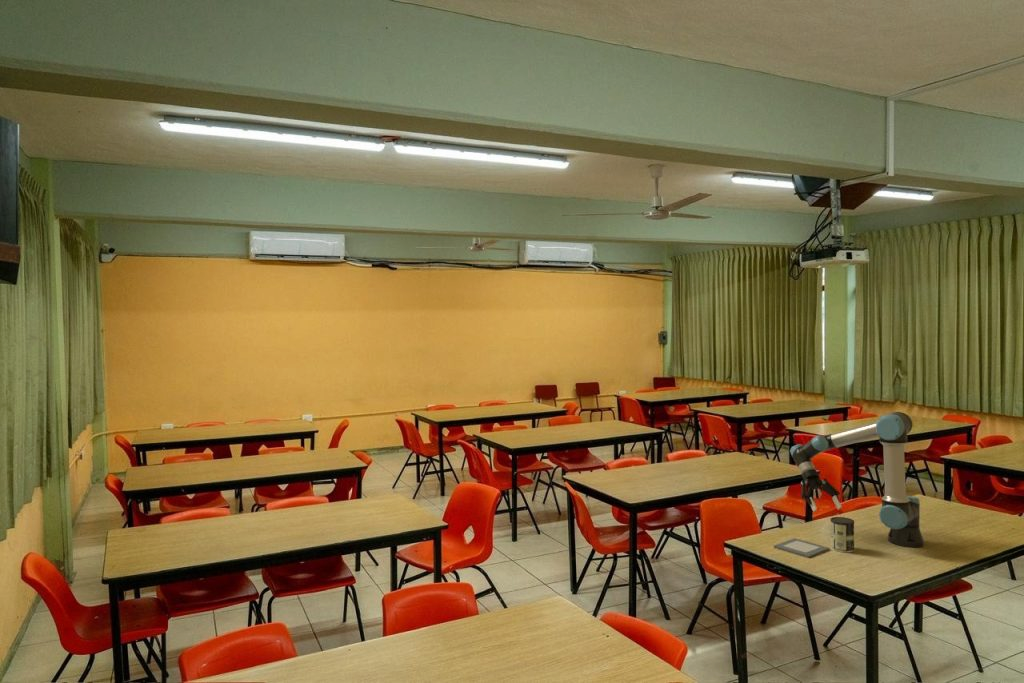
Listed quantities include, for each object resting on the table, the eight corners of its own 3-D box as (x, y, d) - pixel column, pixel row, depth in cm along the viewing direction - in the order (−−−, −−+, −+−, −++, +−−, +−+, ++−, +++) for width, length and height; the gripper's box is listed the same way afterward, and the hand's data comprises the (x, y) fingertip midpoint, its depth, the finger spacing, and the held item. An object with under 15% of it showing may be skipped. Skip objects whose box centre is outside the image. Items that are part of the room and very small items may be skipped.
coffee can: (850, 545, 322) (850, 517, 322) (857, 553, 312) (857, 523, 312) (827, 544, 324) (827, 516, 324) (833, 552, 314) (833, 522, 314)
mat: (829, 549, 317) (829, 547, 317) (808, 558, 307) (808, 555, 307) (794, 540, 332) (794, 537, 332) (773, 547, 321) (773, 545, 321)
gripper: (827, 474, 348) (846, 511, 333) (783, 477, 343) (801, 514, 329) (833, 467, 342) (853, 503, 328) (789, 469, 338) (808, 507, 323)
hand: (827, 509), depth 328 cm, fingers open, 13 cm apart
